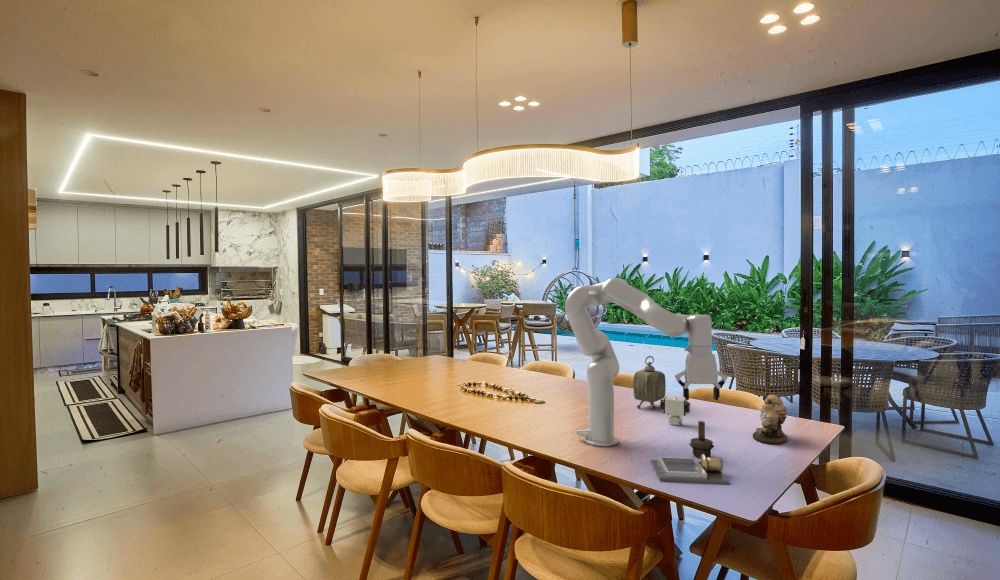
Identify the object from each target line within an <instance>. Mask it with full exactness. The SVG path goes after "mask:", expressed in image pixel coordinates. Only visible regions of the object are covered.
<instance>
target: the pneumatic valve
mask: <svg viewBox="0 0 1000 580" xmlns="http://www.w3.org/2000/svg"><path fill="white" fill-rule="evenodd" d="M688 401H689V400H686V399H685V398H684V397H683V398H681V397H677V396H676V395H674V396H673V397H671V396H665V397H664V398H663V399H661V400H660V402H659V408H660V410H661V411H662V412H663V414H665V415H666V414H667V415H670V416H669V417H668V419H667V420H668V421H667V422H668V423H669V424H670V425H671V426H680V425H682V424H683V418H682V417H681V416H687V414H690V413H691V409H692V408H691V407H692V406H691V402H688Z"/></svg>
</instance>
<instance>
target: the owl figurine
mask: <svg viewBox="0 0 1000 580" xmlns="http://www.w3.org/2000/svg"><path fill="white" fill-rule="evenodd" d="M787 411H788V409H787V407H786V405H784V401H783V400H782V398H781V397H780V396H778V395H775V394H769V395H768V396H767V397H766V398H765V400H764V404H762V405H761V408H760V414H759V418H760V421H761V426H762V427H757V428H756V430H755V431H753V433H752V438H753V439H754V440H755V441H756V442H759V443H762V444H766V445H770V446H781V445H784V444H786V443H787V442H788V436H787V435H786V434H785V432H784V431H783V430H782V428H783V427H782V425H784V422H785V421H786V419H787V417H788V416H787V413H788V412H787Z"/></svg>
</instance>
